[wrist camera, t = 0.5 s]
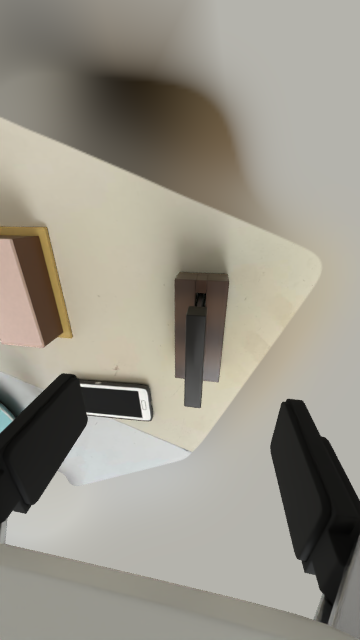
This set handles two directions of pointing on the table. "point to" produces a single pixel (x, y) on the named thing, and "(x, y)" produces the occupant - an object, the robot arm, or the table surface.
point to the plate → (5, 417)
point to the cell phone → (117, 400)
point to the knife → (195, 353)
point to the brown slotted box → (216, 313)
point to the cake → (30, 289)
